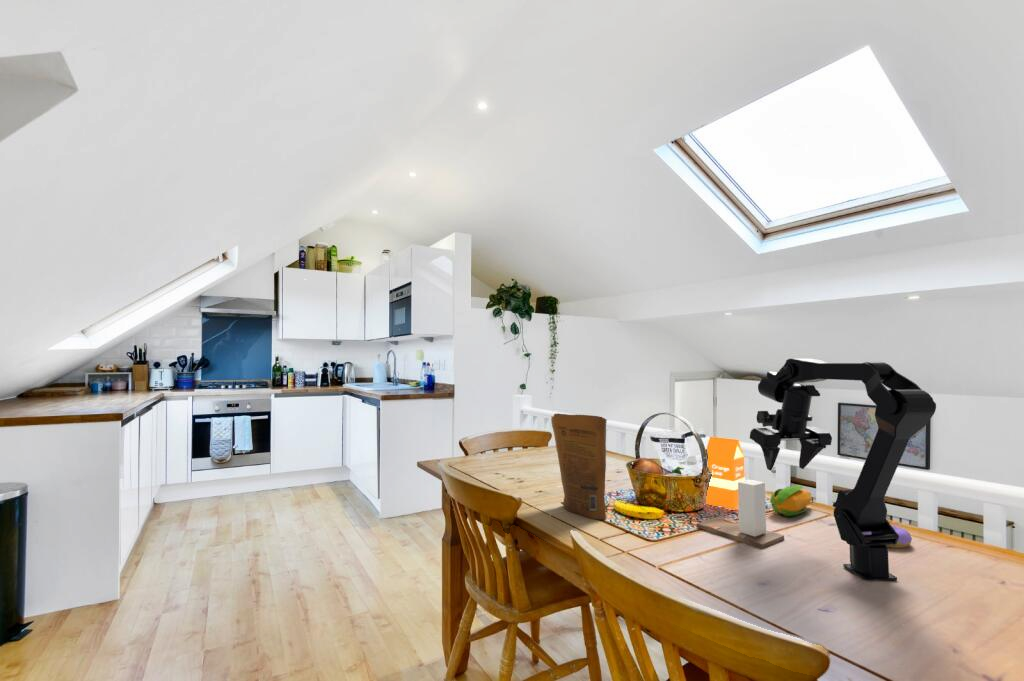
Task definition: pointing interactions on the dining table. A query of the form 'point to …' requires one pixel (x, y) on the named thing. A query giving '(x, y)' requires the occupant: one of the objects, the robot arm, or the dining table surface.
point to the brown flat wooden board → (732, 531)
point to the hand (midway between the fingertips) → (785, 468)
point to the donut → (903, 537)
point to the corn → (790, 500)
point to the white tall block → (752, 507)
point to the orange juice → (724, 472)
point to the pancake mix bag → (582, 462)
